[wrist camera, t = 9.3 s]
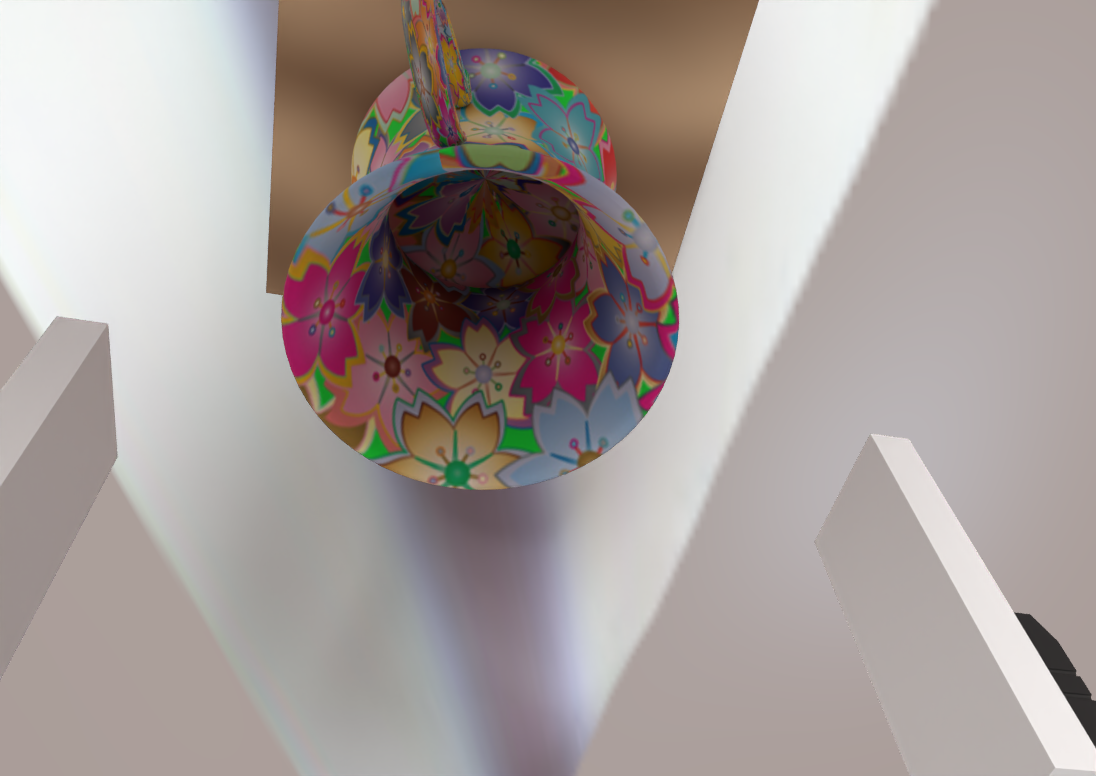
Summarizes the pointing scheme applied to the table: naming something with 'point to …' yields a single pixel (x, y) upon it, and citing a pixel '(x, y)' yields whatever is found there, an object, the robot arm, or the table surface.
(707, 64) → the stool
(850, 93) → the table surface
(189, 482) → the table surface
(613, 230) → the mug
